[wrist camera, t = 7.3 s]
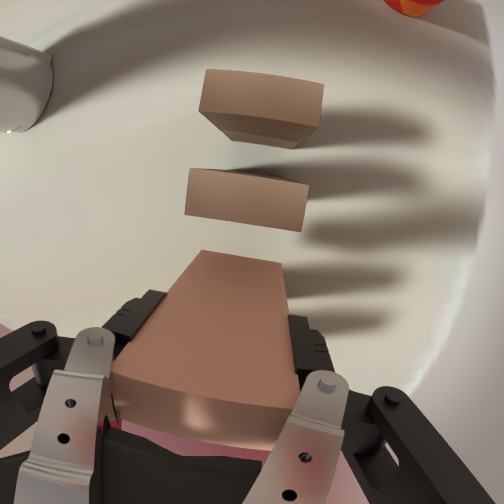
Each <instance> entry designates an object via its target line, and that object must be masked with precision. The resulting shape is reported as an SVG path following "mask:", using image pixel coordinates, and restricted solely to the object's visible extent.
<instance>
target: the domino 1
mask: <svg viewBox="0 0 504 504" xmlns="http://www.w3.org/2000/svg"><path fill="white" fill-rule="evenodd" d="M323 89H324V84H320V83H315V82H310V81H305V80H300V79H294V78H289V77H282V76H276V75H269V74H261V73H252V72H242V71H231V70H215V69H206V74H205V79H204V84H203V89H202V95H201V100H200V106H199V112H200V113H201V114H202V115H204V116H205V117H206V118H207V119H208V120H209V121H210V122H212V123H213V124H214V125H215V126H216V127H217V128H218V129H219V130H220V131H222V132H223V133H224V134H225V135H226V136H227V137H228V138H229V139H230V140H232V141H238V142H246V143H253V144H260V145H267V146H274V147H280V148H286V149H293V148H295V147H296V146H297V145H298V144H299V143H300V142H302V141H303V140H304V139H305V138H306V137H308V136H309V135H310V134H311V133H312V132H314V131H315V130H316V129H317V128H318V127H319V120H320V113H321V105H322V98H323Z"/></svg>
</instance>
